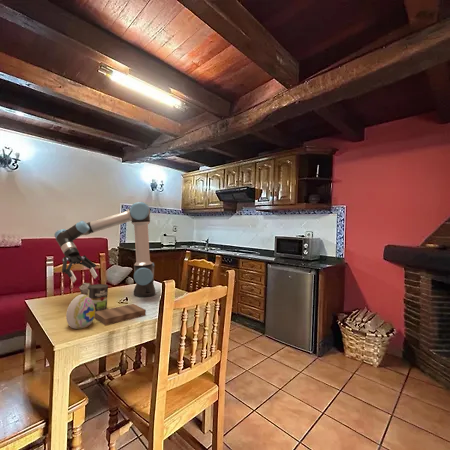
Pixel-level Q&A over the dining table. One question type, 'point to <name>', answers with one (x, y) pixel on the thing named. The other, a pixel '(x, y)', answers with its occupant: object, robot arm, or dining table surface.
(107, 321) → the walnut board
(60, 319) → the dining table surface
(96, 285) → the coffee can
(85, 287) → the game die
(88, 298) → the decorative egg
